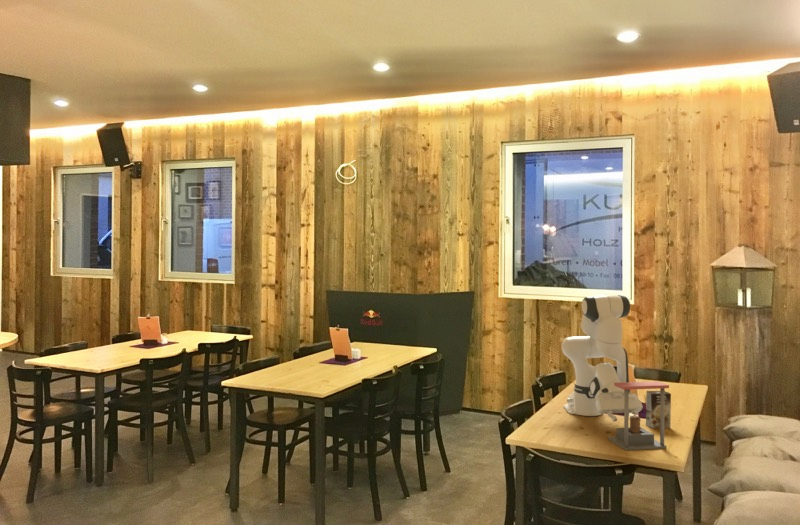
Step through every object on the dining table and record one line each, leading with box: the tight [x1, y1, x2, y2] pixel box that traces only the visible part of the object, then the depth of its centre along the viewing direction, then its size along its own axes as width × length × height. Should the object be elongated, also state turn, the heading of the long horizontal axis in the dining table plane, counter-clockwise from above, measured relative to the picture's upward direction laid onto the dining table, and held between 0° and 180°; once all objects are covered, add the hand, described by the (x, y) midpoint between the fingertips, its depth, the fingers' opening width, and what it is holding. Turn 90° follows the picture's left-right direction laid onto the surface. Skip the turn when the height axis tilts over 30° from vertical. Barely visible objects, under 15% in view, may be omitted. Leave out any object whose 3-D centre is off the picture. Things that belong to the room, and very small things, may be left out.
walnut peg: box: [629, 415, 641, 433], centre depth 261 cm, size 4×4×10 cm
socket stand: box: [607, 380, 670, 451], centre depth 260 cm, size 16×20×26 cm
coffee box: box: [645, 390, 672, 429], centre depth 286 cm, size 9×6×16 cm
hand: (625, 420), depth 269 cm, fingers open, 8 cm apart
